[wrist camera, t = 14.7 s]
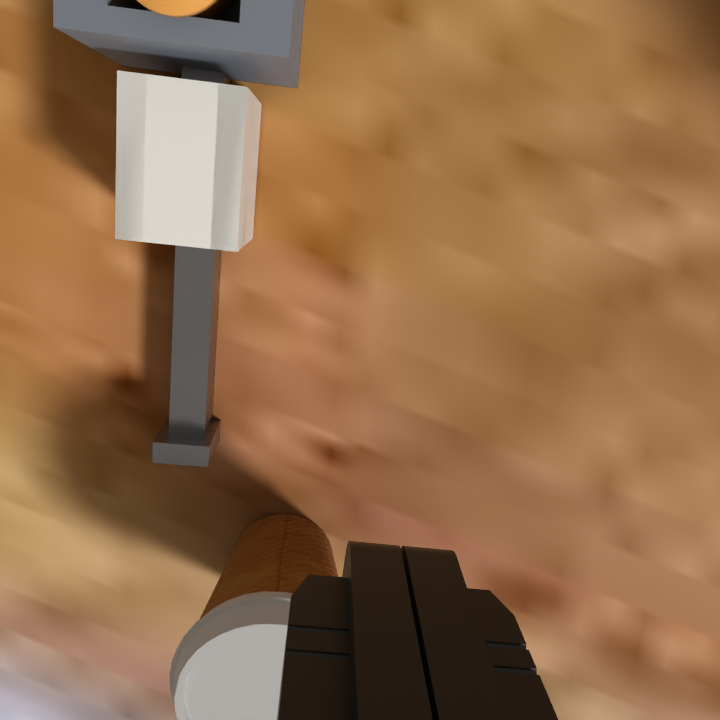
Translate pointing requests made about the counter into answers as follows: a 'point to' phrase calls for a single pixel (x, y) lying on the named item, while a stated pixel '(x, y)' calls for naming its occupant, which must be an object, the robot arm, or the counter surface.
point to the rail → (193, 347)
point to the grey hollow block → (193, 37)
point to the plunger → (188, 8)
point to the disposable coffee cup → (248, 623)
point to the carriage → (185, 161)
